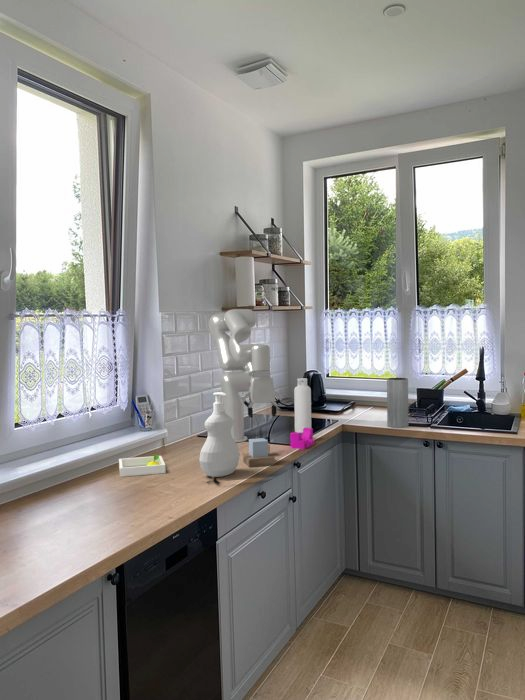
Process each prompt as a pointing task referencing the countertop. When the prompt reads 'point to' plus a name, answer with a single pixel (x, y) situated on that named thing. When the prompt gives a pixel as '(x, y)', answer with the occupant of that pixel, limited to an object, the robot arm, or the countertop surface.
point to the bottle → (302, 405)
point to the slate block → (258, 447)
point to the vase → (397, 403)
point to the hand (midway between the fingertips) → (262, 416)
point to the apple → (153, 461)
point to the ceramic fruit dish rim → (140, 469)
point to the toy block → (302, 439)
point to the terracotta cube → (269, 448)
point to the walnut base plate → (258, 460)
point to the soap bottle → (219, 443)
